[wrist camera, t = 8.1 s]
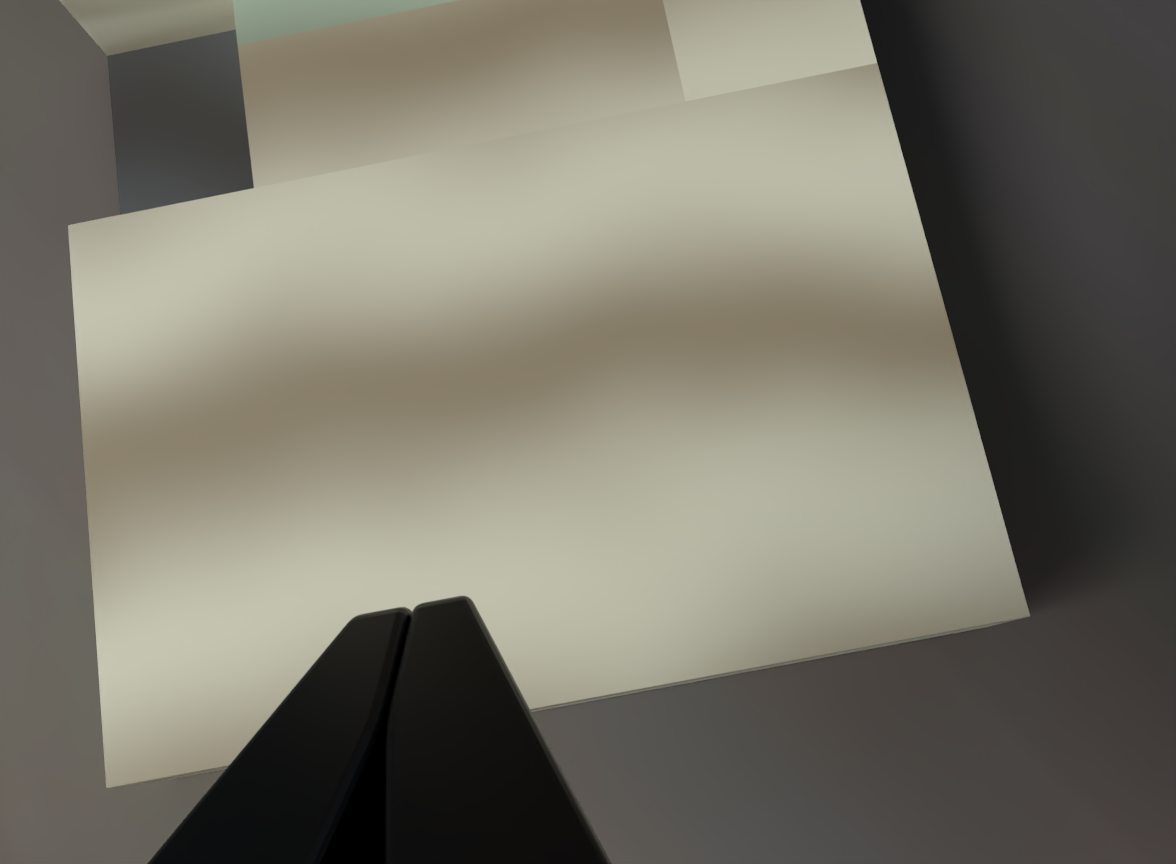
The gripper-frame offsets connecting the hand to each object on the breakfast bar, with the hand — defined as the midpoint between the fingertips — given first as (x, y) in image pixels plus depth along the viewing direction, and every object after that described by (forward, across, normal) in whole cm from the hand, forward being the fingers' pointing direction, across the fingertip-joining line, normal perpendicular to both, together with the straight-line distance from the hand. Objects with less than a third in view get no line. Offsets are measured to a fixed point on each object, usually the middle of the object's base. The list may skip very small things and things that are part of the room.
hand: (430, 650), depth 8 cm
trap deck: (+17, 0, +1) cm, 17 cm away
